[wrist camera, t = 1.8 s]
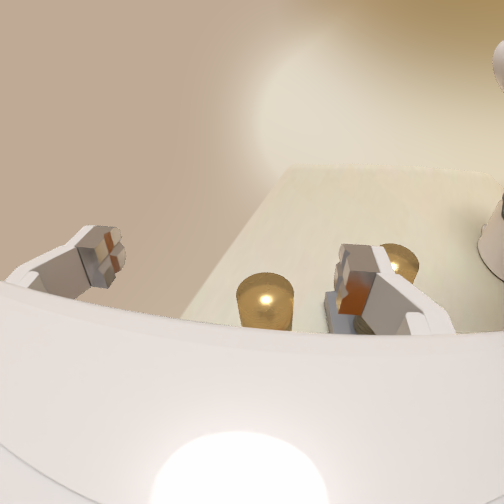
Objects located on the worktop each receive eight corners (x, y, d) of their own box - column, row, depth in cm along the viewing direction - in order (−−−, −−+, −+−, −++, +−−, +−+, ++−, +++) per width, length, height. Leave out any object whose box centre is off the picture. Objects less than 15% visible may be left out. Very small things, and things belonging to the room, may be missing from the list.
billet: (288, 334, 35) (291, 271, 27) (291, 370, 31) (296, 314, 24) (247, 335, 35) (237, 273, 28) (246, 372, 31) (235, 317, 24)
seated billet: (384, 306, 35) (408, 242, 28) (394, 338, 32) (426, 276, 24) (349, 310, 36) (366, 244, 28) (357, 343, 32) (381, 281, 25)
